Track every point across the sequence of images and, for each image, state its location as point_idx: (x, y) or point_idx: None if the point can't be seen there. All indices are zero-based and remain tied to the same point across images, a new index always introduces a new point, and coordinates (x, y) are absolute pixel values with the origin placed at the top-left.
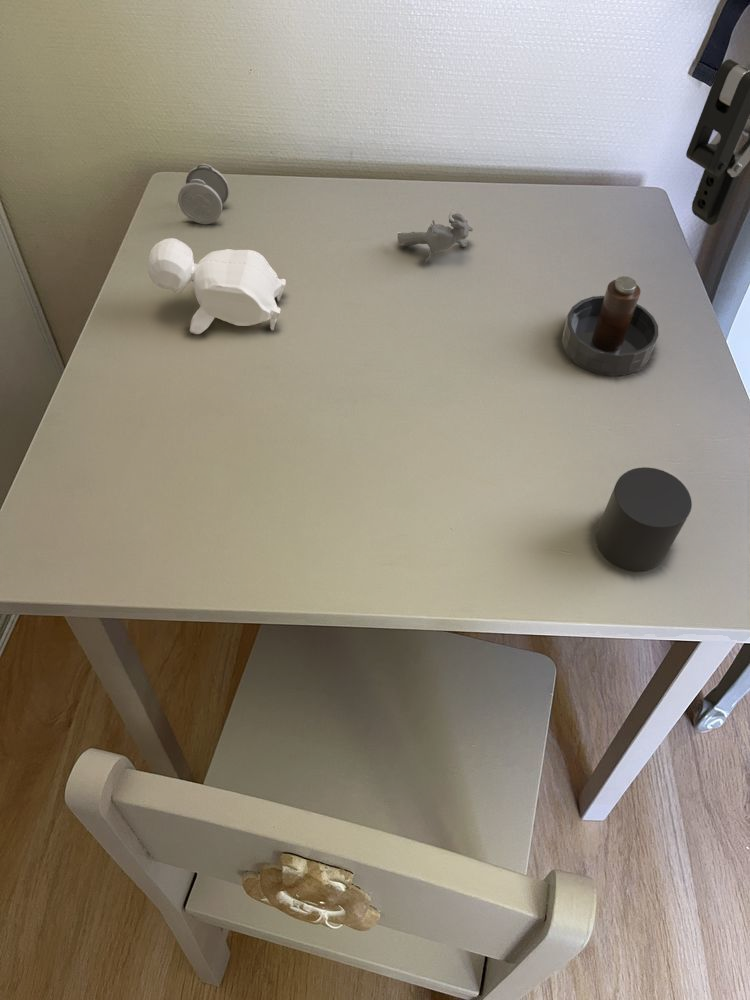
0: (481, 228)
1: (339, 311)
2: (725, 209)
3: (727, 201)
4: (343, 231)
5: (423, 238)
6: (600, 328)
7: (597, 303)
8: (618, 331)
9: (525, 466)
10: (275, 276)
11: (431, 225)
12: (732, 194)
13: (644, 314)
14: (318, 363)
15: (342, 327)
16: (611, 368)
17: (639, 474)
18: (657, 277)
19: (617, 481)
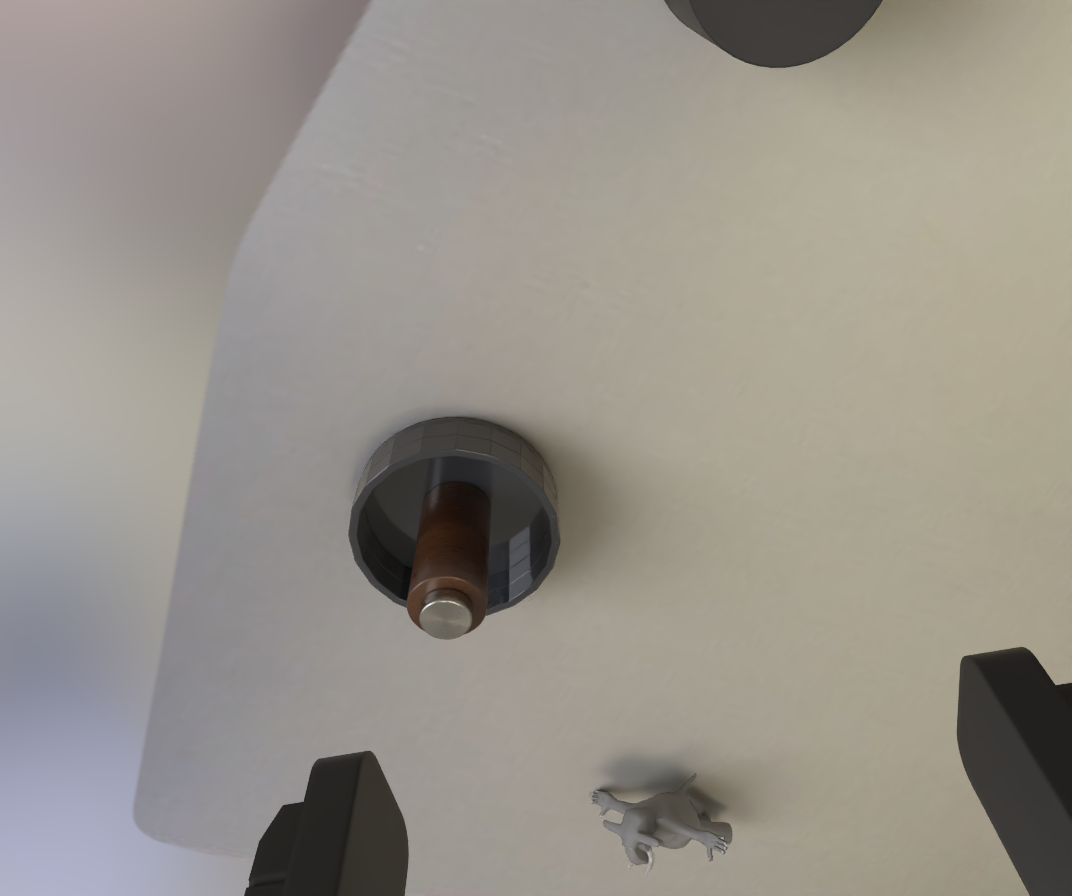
0: (538, 821)
1: (917, 711)
2: (1023, 710)
3: (1060, 754)
4: (790, 866)
5: (700, 824)
6: (488, 536)
7: None
8: (460, 516)
9: (828, 249)
10: None
11: (723, 850)
12: (1061, 791)
13: (361, 546)
14: (1035, 614)
15: (937, 677)
16: (499, 437)
17: (777, 41)
18: (243, 636)
19: (847, 40)
